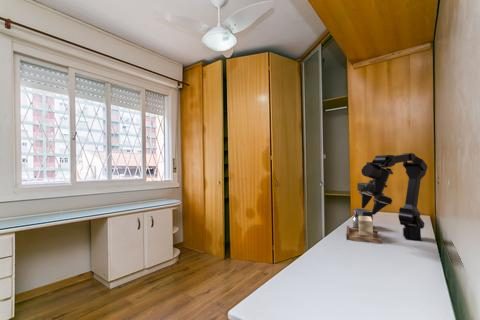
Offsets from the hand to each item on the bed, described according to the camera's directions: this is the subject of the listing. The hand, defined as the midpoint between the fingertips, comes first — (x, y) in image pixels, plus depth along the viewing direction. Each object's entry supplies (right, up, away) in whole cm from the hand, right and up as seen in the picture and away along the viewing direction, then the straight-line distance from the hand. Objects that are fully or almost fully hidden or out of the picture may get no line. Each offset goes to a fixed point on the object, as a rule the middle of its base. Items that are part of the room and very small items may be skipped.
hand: (367, 211), depth 110 cm
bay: (+3, -16, +10) cm, 19 cm away
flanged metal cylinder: (+7, -16, +24) cm, 30 cm away
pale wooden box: (+4, -16, +9) cm, 19 cm away
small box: (+13, -16, +27) cm, 34 cm away
